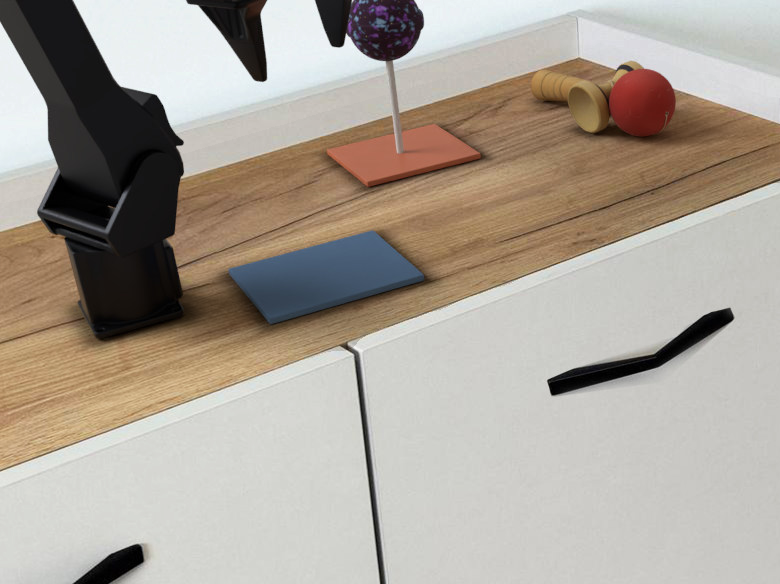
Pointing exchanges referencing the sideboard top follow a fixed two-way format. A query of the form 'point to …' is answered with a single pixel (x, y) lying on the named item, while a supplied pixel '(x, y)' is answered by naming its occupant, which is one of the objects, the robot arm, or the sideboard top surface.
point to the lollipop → (386, 39)
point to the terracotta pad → (402, 155)
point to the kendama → (613, 99)
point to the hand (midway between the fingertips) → (300, 63)
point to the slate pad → (324, 276)
